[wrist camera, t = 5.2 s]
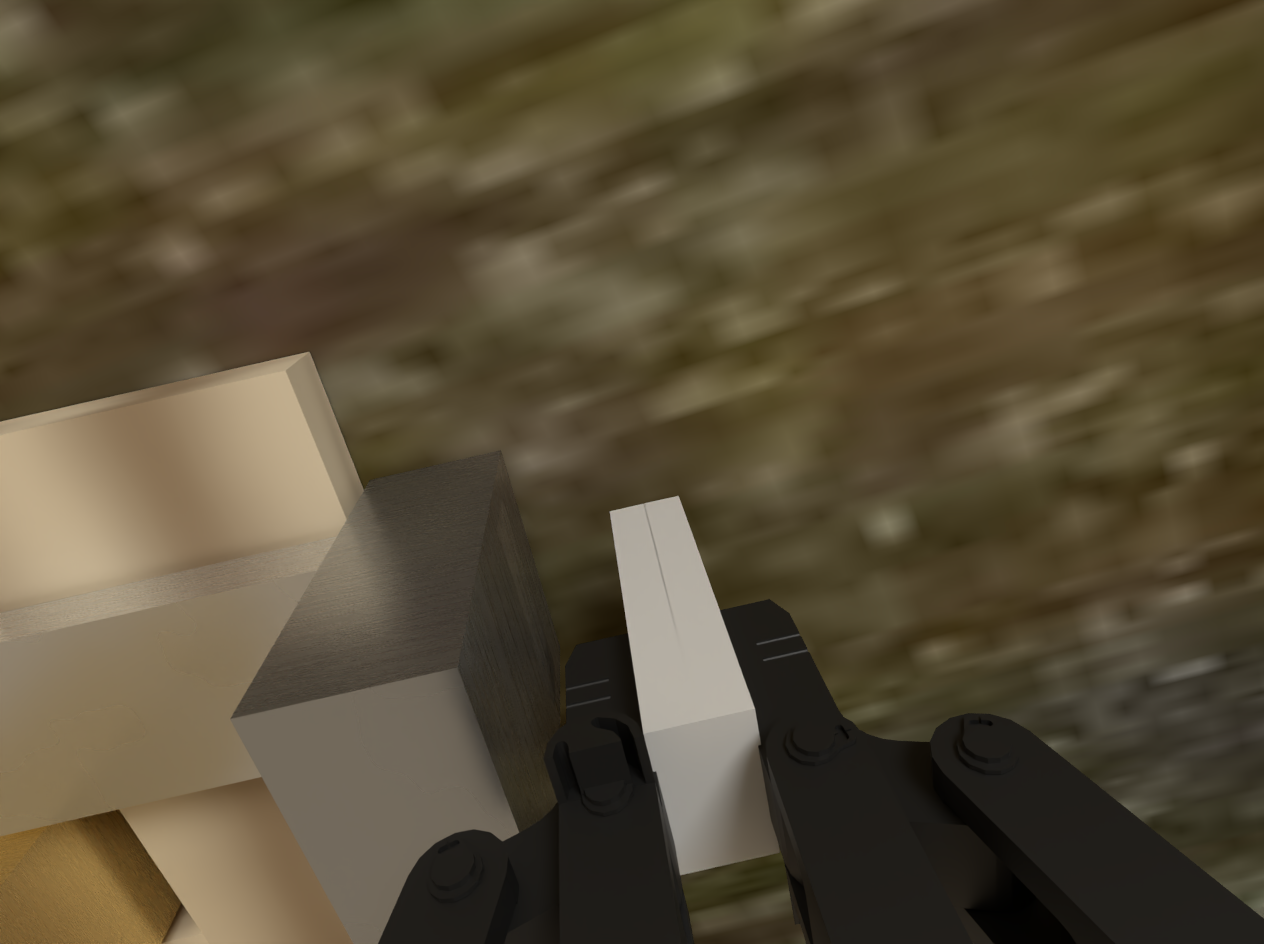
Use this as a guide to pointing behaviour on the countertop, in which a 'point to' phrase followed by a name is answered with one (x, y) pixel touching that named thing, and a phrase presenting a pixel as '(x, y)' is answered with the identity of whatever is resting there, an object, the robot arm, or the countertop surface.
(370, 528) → the steel key
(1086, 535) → the countertop surface
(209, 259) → the countertop surface
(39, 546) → the socket plate
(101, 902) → the brass peg
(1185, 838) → the countertop surface
